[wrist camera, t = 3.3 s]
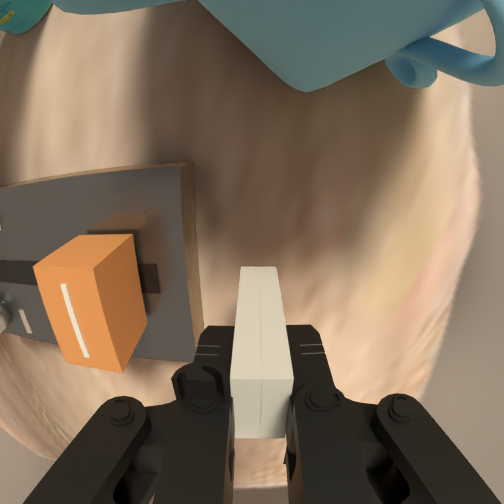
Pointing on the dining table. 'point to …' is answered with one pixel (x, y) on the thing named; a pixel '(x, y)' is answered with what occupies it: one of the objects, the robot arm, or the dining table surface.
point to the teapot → (346, 36)
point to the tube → (21, 14)
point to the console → (100, 223)
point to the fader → (94, 299)
